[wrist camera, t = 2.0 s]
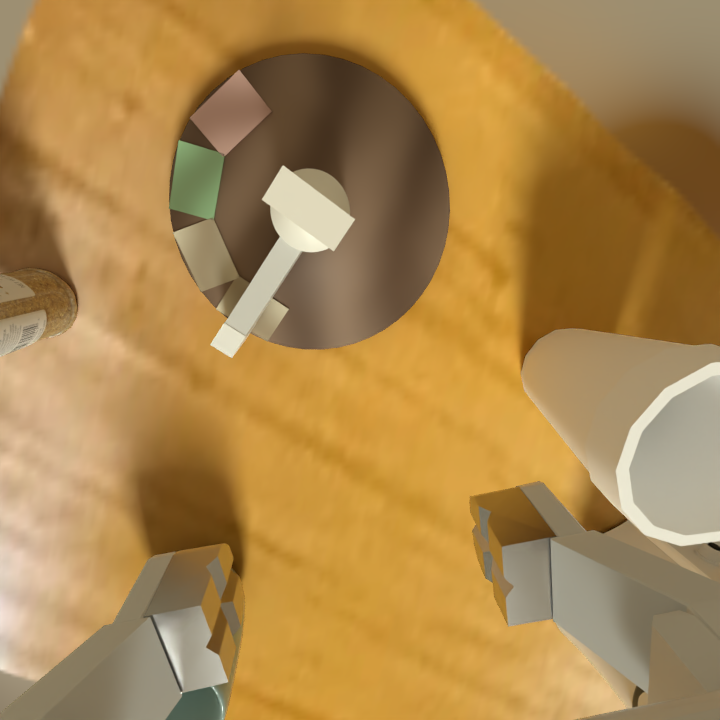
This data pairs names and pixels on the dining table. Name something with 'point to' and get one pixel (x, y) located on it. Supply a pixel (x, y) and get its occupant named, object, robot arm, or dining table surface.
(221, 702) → the cup
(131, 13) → the dining table surface
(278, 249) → the cream toy mallet
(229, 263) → the dial
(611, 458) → the foam cup
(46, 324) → the sprinkles bottle
